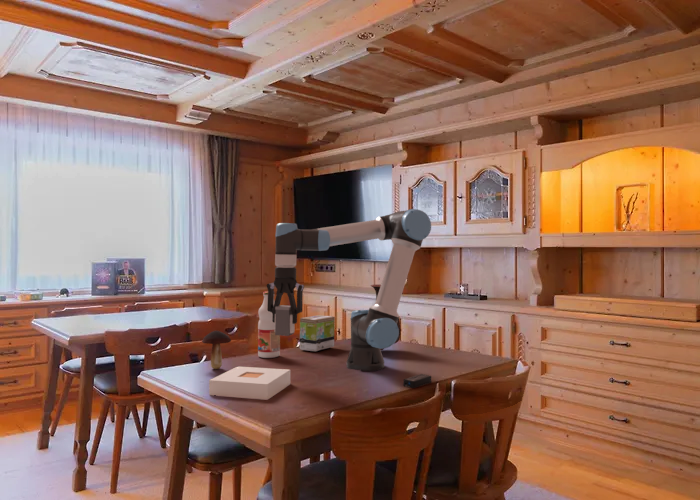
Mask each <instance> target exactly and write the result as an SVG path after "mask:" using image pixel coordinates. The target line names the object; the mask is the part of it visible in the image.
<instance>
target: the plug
mask: <svg viewBox="0 0 700 500" xmlns="http://www.w3.org/2000/svg"><path fill="white" fill-rule="evenodd" d="M275 310H276V319H275V335H280V336H283V337H284V336H285V337H289V336H292V335H294V334H295V332H294V333H290V315H291V314H292V311H291V306H290V305H284V304H282V305H281V304H280V305H279V306H276V307H275Z"/></svg>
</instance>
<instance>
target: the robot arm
mask: <svg viewBox="0 0 700 500" xmlns="http://www.w3.org/2000/svg"><path fill="white" fill-rule="evenodd" d="M431 231H432V221H431V219H430V217H429V215H428V214H427V213H426V212H425V211H423V210H421V209H415V208H409V209H406V210H401V211H400V210H399V211H396V212H393V213H389V214H387V215H383V216H378V217H376V218H375V219H374V220H366V221H365V220H364V221H359V222H351V223H346V224H339V225H334V226H326V227H325V226H324V227H320V228H319V227H318V228H312V229H300V228H298V224H297V223H294V222H293V223H292V222H291V223H289V222H279V223H277V224H276V226H275V234H274V235H275V236H274V237H275V254H274V255H275V258H274V265H275V266H276V267H275V268H274V281H273V282H271V283H267V284H266V288H267V291H268V308H267V310H268V311H270V312H272V314H273V319H272V321H273V322H274V323H275V319H276V310H275V307H276V306H280V305H281V301H282V298H283V294H284V293H285V294H286V295H287V297H288V301H289V306H291V311H292V314H291V315H290V333H294V334H295V327H296V326H295V324H297V322H298V314H300V313H302V312H303V307H304V306H303V301H304V300H303V296H304V295H303V291H304V288H305V285H304V284H300V283H298V281H297V267H296V266H297V252H298V251H319V252H321V251H328V250H329V248H330V247H333V246H334V247H335V246H338V245H344V244H345V245H346V244H352V243H357V242H365V241H371V240H376V239H378V240H379V241H385V240H386V241H387V240H391V242H392V245H393V246H392V249H391V251H390V255H389V258H388V261H387V265H386V268H385V271H384V275H383V277H382V280H381V284H380V285H381V287H380V290H379V293H378V296H377V299H376V298H375V302H376V303H375V302H374V304H373V305H371V306H370V307H369V309H359V310H358V309H357V310H352V311H351V313H350V320H349V321H350V350H349V352H348V357H347V359H346V369H349V370H356V371H361V372H375V371H379V370H380V371H381V370H383V369H384V368H385V359H384V356H383V354H382V350H380V349H383V350H385V349H387V348H390V347H392V346H393V345H395V344H396V343H395V342H396V340H397V338H398V335H399V329H398V326H397V322H398V319H399V320H400V316H399V313H398V312H397V311H398V307H399V304H400V302H401V297H402V295H403V292H404V288H405V285H406V282H407V279H408V276H409V275H408V274H409V273H410V270H411V266H412V263H413V259H414V256H415V253H416V251H418V250H420V249H421V246H422V244H423V241H424V240H425V239H426V238H427V237H429V235H430V233H431ZM275 288H276V290H277V291H276V293H275ZM295 288H296V298H295V291H294V290H295ZM274 293H275V294H276V295H275V294H274ZM274 301H275V302H274ZM273 303H274V306H273ZM394 343H395V344H394ZM384 348H385V349H384Z"/></svg>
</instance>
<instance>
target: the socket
mask: <svg viewBox="0 0 700 500" xmlns="http://www.w3.org/2000/svg"><path fill="white" fill-rule="evenodd" d="M247 373H248V374H263V375H261V376H259V377H257V378H251V377H241V376H243V375H245V374H247ZM208 382H209V383H208V384H209V389H208V391H209V392H208V393H209V394H208V395H209V396H214V395H216V396H217V397H228V398H240V399H241V398H242V399H252V400H262V401H264V400H266V401H268V400H269V399H271V398H273V396H275V395H277V394H278V393H280V392H281V391H283V390H284V389H286V388H287V387H288V386H290V385H291V369H287V368H285V369H284V368H269V367H252V366H236V367H234V368H231V369H229V370H227V371H226V372H223V373H221V374H219V375H217V376H215V377H213V378H211V379H209V381H208Z"/></svg>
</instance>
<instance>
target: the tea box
mask: <svg viewBox="0 0 700 500" xmlns="http://www.w3.org/2000/svg"><path fill="white" fill-rule="evenodd" d="M335 317H336V316H332V315H322V314H321V315H320V314H318V315H312V316H306V317H300V318H299V319H300V320H299V350H303V351H310V352H318V351H322V350H326V349H330V348H334V347H335V331H336V330H335V329H336V328H335V326H336V325H335V323H336V321H335V320H336V319H335Z"/></svg>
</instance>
